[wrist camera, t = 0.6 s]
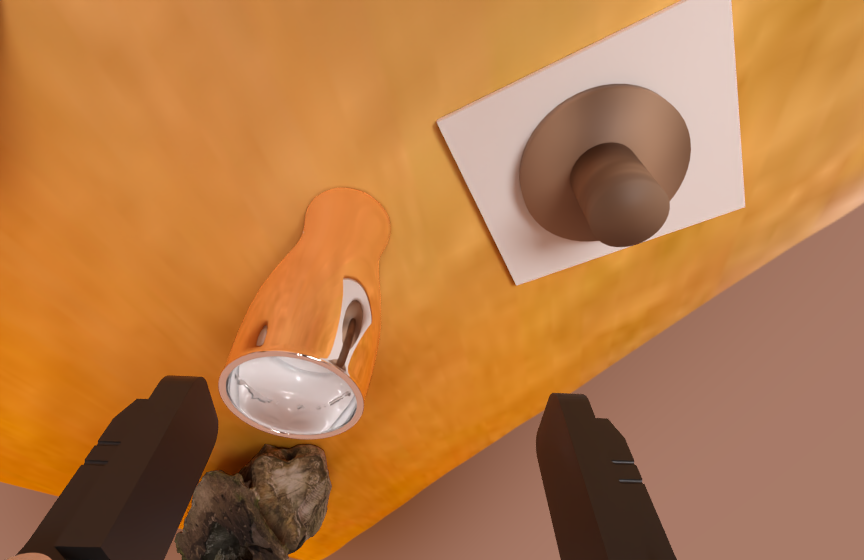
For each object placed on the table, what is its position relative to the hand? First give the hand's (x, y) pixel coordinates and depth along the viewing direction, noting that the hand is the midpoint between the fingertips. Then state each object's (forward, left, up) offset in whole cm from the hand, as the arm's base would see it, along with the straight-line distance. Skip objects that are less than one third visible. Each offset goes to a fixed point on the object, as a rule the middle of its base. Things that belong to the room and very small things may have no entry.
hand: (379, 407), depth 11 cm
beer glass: (+8, +5, -21) cm, 23 cm away
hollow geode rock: (+40, +32, -21) cm, 55 cm away
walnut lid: (-9, +8, -20) cm, 23 cm away
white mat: (-9, +8, -21) cm, 24 cm away
